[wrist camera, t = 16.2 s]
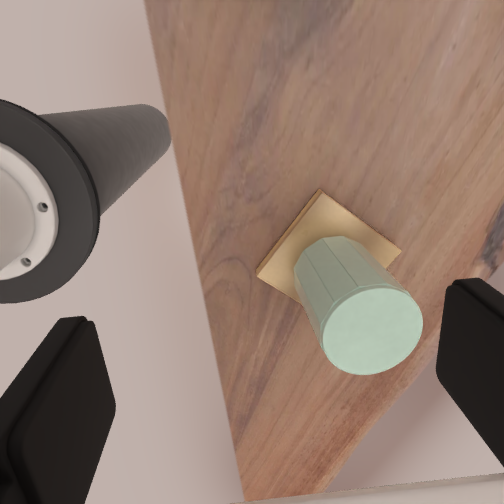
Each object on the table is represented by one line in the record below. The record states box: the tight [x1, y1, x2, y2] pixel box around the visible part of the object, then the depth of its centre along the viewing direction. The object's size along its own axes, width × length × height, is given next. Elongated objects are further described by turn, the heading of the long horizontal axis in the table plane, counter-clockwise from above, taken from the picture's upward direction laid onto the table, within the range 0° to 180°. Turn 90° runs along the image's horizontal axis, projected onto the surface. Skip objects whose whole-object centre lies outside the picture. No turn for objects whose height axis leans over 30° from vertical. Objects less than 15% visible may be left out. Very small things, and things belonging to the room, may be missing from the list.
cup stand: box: [256, 189, 401, 305], centre depth 33 cm, size 10×10×13 cm
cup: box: [294, 236, 423, 375], centre depth 31 cm, size 7×7×10 cm
